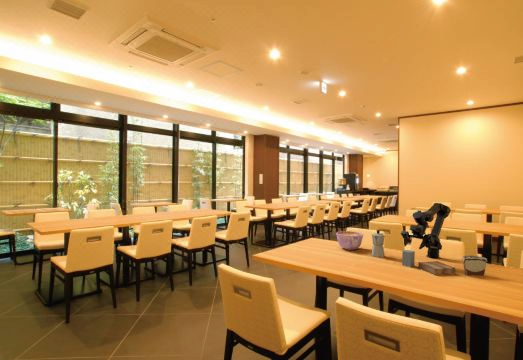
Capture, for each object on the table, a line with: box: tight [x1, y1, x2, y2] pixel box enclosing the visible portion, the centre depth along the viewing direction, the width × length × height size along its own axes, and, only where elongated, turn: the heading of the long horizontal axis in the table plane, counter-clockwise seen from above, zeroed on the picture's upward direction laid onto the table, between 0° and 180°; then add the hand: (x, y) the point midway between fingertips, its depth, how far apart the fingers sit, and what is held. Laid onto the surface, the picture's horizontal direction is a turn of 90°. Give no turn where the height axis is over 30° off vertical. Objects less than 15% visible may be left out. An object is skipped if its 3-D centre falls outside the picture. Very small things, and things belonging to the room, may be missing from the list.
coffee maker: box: [371, 229, 386, 258], centre depth 201 cm, size 15×9×18 cm, turn 137°
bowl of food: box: [335, 230, 364, 251], centre depth 220 cm, size 20×20×12 cm
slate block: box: [401, 249, 416, 268], centre depth 178 cm, size 5×5×9 cm
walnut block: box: [417, 260, 456, 276], centre depth 168 cm, size 13×13×4 cm
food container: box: [461, 254, 488, 277], centre depth 163 cm, size 12×6×10 cm, turn 84°
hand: (411, 247), depth 180 cm, fingers open, 9 cm apart
